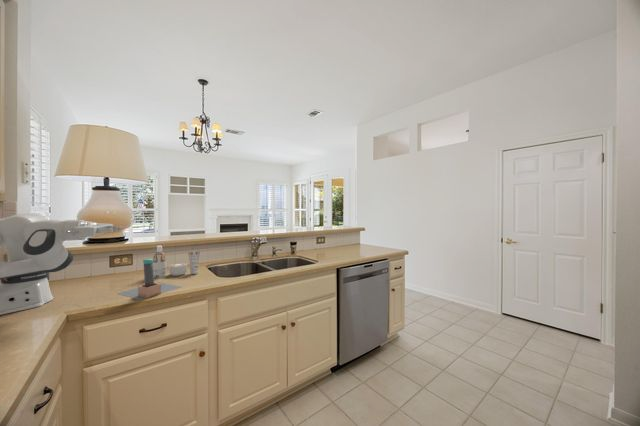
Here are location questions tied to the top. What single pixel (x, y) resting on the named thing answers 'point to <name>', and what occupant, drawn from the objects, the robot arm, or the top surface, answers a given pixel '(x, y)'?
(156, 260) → the cosmetic set
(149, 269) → the marker
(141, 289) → the pink open box
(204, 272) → the top surface
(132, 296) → the board
